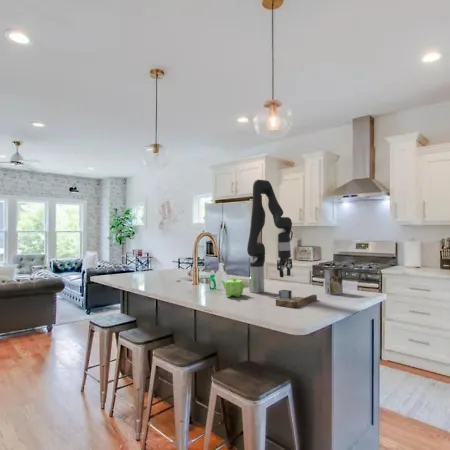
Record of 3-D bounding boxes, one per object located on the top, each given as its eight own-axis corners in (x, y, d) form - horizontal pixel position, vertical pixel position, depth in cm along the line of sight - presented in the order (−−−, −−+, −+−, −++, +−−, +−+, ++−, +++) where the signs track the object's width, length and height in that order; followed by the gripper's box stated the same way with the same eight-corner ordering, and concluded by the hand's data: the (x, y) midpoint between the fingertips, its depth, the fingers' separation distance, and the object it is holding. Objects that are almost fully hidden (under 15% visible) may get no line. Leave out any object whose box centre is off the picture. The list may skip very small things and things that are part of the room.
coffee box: (337, 292, 222) (336, 267, 222) (342, 293, 216) (342, 268, 216) (324, 293, 219) (324, 268, 220) (330, 294, 213) (329, 269, 214)
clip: (279, 297, 206) (278, 290, 206) (283, 296, 210) (283, 289, 210) (287, 298, 202) (287, 291, 202) (291, 297, 206) (291, 290, 206)
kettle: (231, 299, 205) (231, 280, 206) (218, 296, 217) (218, 278, 217) (250, 296, 214) (250, 278, 214) (237, 293, 226) (236, 276, 226)
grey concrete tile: (274, 298, 206) (274, 297, 206) (281, 296, 212) (281, 295, 212) (289, 300, 200) (289, 299, 200) (296, 297, 206) (296, 297, 206)
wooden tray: (275, 305, 186) (275, 299, 186) (298, 297, 206) (298, 292, 206) (295, 308, 178) (295, 302, 179) (316, 299, 198) (316, 294, 198)
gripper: (284, 249, 215) (285, 274, 214) (272, 250, 204) (273, 277, 203) (295, 249, 210) (296, 275, 209) (283, 250, 199) (284, 278, 198)
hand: (285, 276), depth 206 cm, fingers open, 8 cm apart
